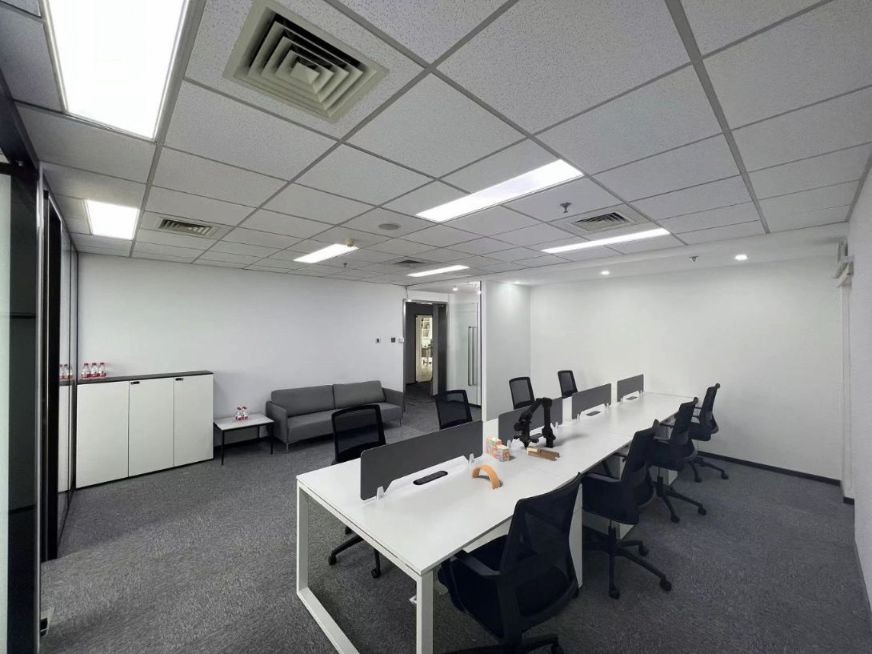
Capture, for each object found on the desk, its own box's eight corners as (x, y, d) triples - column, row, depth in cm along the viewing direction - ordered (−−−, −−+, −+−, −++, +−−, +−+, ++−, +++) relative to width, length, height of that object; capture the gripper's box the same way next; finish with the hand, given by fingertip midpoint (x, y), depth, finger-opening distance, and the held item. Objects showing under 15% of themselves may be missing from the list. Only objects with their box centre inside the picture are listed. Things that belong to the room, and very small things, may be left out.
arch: (492, 489, 206) (492, 472, 206) (471, 478, 222) (471, 462, 222) (500, 487, 209) (499, 470, 209) (478, 476, 226) (478, 460, 226)
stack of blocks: (509, 460, 251) (509, 443, 252) (502, 462, 249) (502, 445, 249) (492, 451, 271) (492, 435, 271) (486, 453, 268) (485, 437, 268)
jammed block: (529, 451, 270) (529, 445, 270) (539, 453, 265) (539, 447, 265) (526, 453, 265) (526, 447, 265) (536, 455, 260) (536, 449, 260)
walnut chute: (533, 451, 270) (533, 447, 270) (559, 456, 258) (559, 452, 258) (528, 455, 262) (528, 451, 262) (554, 461, 250) (554, 456, 250)
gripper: (510, 429, 268) (510, 450, 268) (533, 434, 257) (533, 455, 256) (516, 426, 277) (516, 446, 277) (539, 430, 265) (539, 451, 265)
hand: (526, 449), depth 268 cm, fingers closed
